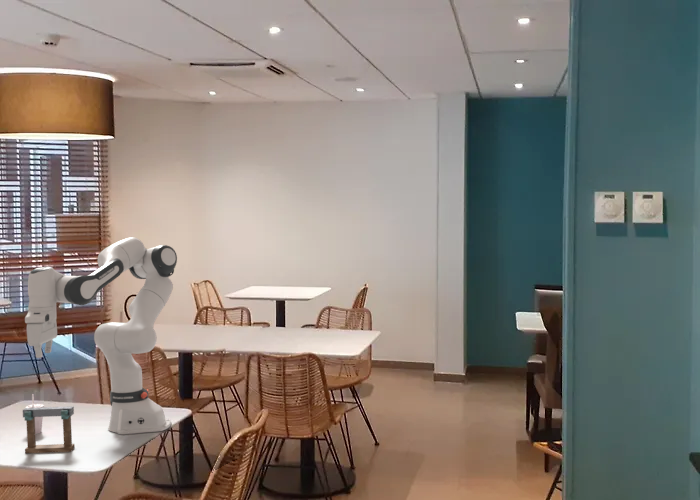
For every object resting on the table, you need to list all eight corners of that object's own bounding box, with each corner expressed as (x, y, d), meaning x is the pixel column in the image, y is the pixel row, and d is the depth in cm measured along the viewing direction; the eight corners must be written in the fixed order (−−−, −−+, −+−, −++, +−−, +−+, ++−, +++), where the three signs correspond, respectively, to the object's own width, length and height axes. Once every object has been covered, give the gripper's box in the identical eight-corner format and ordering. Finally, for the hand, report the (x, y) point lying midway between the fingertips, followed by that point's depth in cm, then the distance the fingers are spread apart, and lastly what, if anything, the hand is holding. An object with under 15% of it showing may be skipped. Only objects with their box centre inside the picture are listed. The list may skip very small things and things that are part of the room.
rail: (73, 413, 256) (73, 406, 256) (71, 415, 253) (71, 408, 253) (25, 415, 255) (25, 408, 255) (22, 417, 252) (22, 409, 252)
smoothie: (29, 430, 280) (28, 392, 279) (47, 429, 280) (46, 391, 280) (24, 435, 274) (22, 396, 273) (42, 434, 274) (40, 396, 273)
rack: (75, 447, 257) (73, 407, 257) (70, 452, 253) (68, 410, 252) (30, 449, 257) (28, 408, 256) (24, 453, 252) (22, 412, 251)
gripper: (42, 311, 268) (44, 350, 268) (22, 318, 247) (24, 360, 248) (61, 311, 268) (62, 349, 269) (42, 318, 248) (43, 360, 248)
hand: (43, 355), depth 258 cm, fingers open, 8 cm apart
